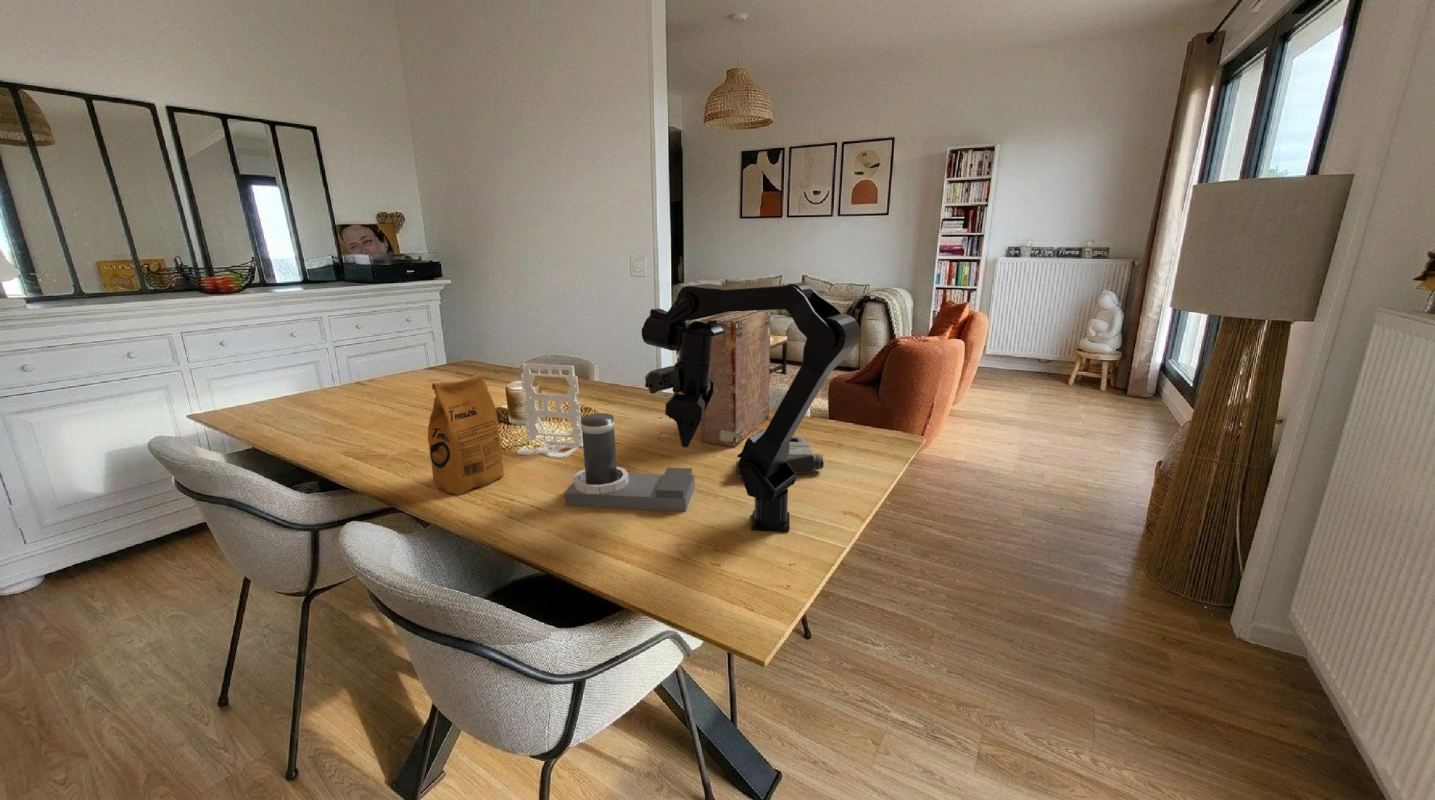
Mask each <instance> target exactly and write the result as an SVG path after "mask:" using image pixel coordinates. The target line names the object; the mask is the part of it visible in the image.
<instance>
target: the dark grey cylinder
mask: <svg viewBox="0 0 1435 800" xmlns="http://www.w3.org/2000/svg"><path fill="white" fill-rule="evenodd" d="M580 418H581V432H582V438H583V447H582V449H583V462H584V469H585V477H586V484H591V485H602V484H608V483H612V482H615V481H617V467H618V466H617V453H616V448H617V447H616V436H615V430H616V429H615V426H616V425H615V418H614V415H613V414H609V413H603V412H601V413H600V412H599V413H591V414H587V415H584V416H582V417H580Z"/></svg>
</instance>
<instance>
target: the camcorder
mask: <svg viewBox="0 0 1435 800" xmlns="http://www.w3.org/2000/svg"><path fill="white" fill-rule="evenodd" d="M823 457H824V455H823V454H821V453H814V452H813V451H812V448H811V446H810V443H809V442H807V441H806V437H805V436H803V435H793V436H792V438H791V440H790V446H789V454H788V457H787V462H788V463H789V464H790V466H791V467H792V468H793V469H794V471H795V472H796V473H797V474H804V475H806V474H810V473H812V472H813V471H817V470H822V469H823V467H824V464H825V463H824V459H823ZM738 462H739V460H737V461H736V462H735V463H736V473H735V476H736V478H739V477H740V476H741V474H740V471H739V469H738Z"/></svg>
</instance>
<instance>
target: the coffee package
mask: <svg viewBox="0 0 1435 800" xmlns="http://www.w3.org/2000/svg"><path fill="white" fill-rule="evenodd" d="M431 389H432V390H433V391H434V394H435V397H434V399H433V406H432V411H431V412H430V413H431V414H430V416H429V421H428V426H427V441H428V447H429V455H430V456H429V458H430V461H431V471H432V480H433V481H434V483H435V485H436V487H437V488H438V489H443V490H444V491H445V490H446V492H447V493H448V494H451V495H457V496H461V495H463V494H465V493H467V492H469V491H471V490H472V489H474V488H482V486H483V487H487V486H489V485H491V484H493V483H494V482H496V481H497V480H499V479H501V478H503V477H504V475H505V473H504V472H505V471H504V462H503V454H502V444H501V443H502V441H501V433H500V429H499V420H498V415H497V410H496V407H495V403H494V400H493V398H492V395H491V393H490V392H489V389H488V385H487V383H486V381H485V378H484V375H483V374H482V373H481V372H480V373H477V374H474V375H472V376H470V377H467V378H466V379H464V380H461V381H449V382H433V383H432V384H431ZM495 480H496V481H495ZM492 482H493V483H492ZM490 483H491V484H490Z"/></svg>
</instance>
